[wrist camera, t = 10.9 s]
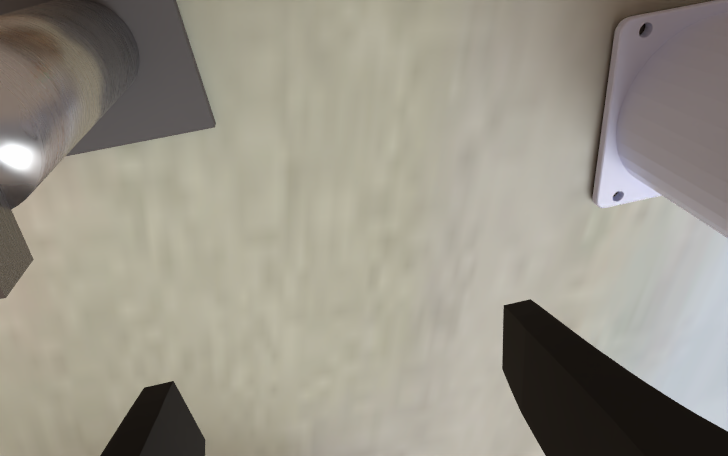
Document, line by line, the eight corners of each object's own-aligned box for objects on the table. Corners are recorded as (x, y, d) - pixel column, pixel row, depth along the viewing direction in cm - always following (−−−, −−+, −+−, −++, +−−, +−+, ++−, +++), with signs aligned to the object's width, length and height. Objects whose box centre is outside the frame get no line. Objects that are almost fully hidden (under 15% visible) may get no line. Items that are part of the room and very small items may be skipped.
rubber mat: (151, -74, 14) (148, -74, 13) (215, 123, 17) (214, 127, 17) (-63, -39, 13) (-72, -38, 13) (44, 156, 17) (39, 161, 16)
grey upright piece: (116, -43, 14) (-76, -25, 6) (157, 125, 16) (60, 291, 8) (1, -42, 13) (-369, -20, 5) (62, 131, 16) (-131, 313, 8)
